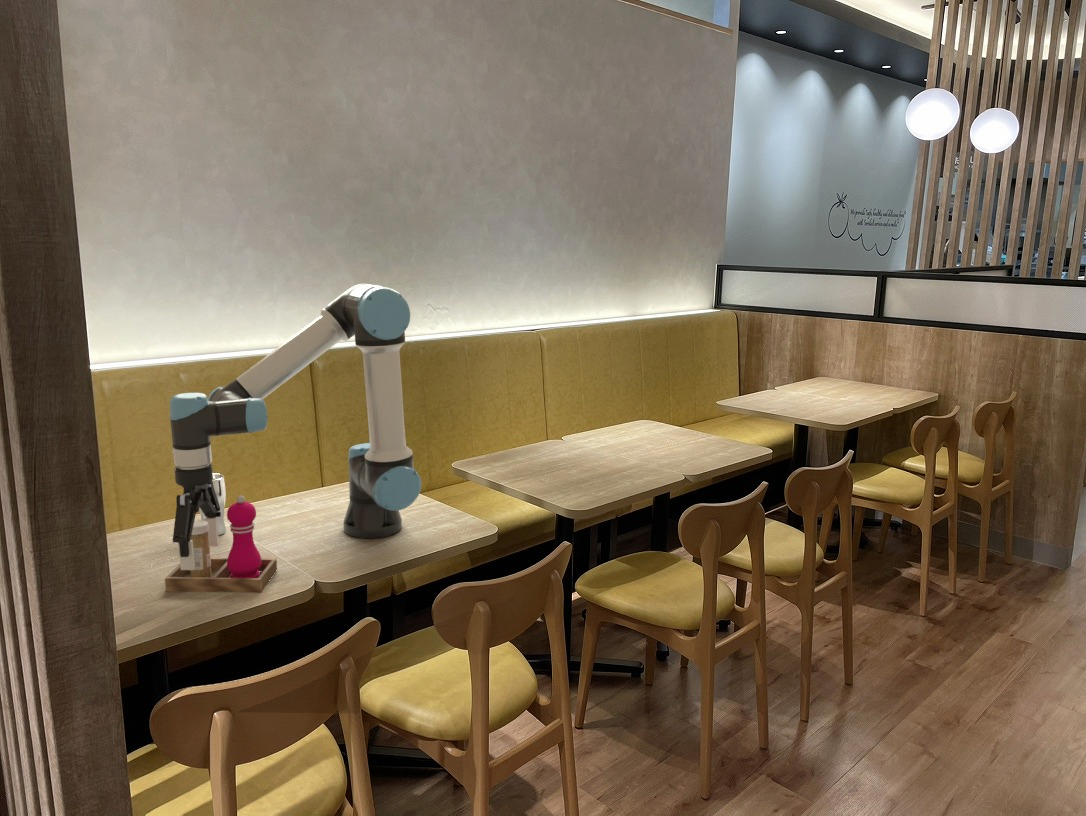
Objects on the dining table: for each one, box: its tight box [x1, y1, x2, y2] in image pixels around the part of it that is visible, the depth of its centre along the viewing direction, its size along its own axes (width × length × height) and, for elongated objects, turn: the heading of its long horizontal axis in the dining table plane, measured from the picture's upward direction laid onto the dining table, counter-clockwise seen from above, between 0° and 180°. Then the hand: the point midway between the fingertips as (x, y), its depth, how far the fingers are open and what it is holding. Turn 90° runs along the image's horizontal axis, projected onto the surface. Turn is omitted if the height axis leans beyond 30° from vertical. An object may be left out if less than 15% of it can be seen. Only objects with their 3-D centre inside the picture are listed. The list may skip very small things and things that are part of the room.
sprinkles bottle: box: [190, 519, 213, 578], centre depth 179 cm, size 5×5×13 cm
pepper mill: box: [226, 495, 262, 578], centre depth 179 cm, size 7×7×20 cm
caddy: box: [164, 557, 278, 594], centre depth 181 cm, size 20×12×3 cm, turn 91°
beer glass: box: [198, 472, 227, 536], centre depth 207 cm, size 7×7×15 cm
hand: (200, 557), depth 180 cm, fingers open, 13 cm apart
